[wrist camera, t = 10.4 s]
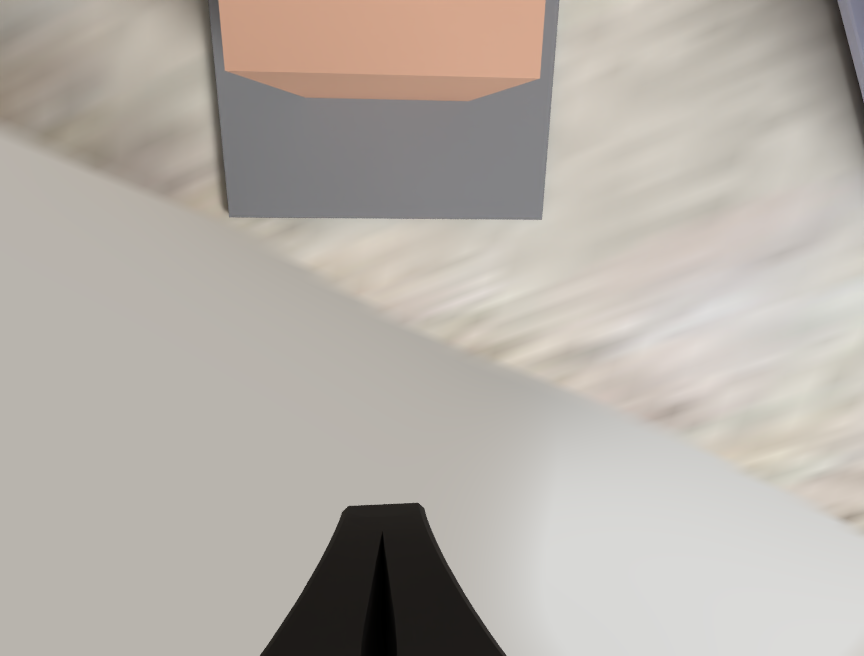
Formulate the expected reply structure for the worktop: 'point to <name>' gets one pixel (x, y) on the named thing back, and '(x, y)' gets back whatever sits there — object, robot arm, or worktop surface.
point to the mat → (385, 149)
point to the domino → (384, 46)
